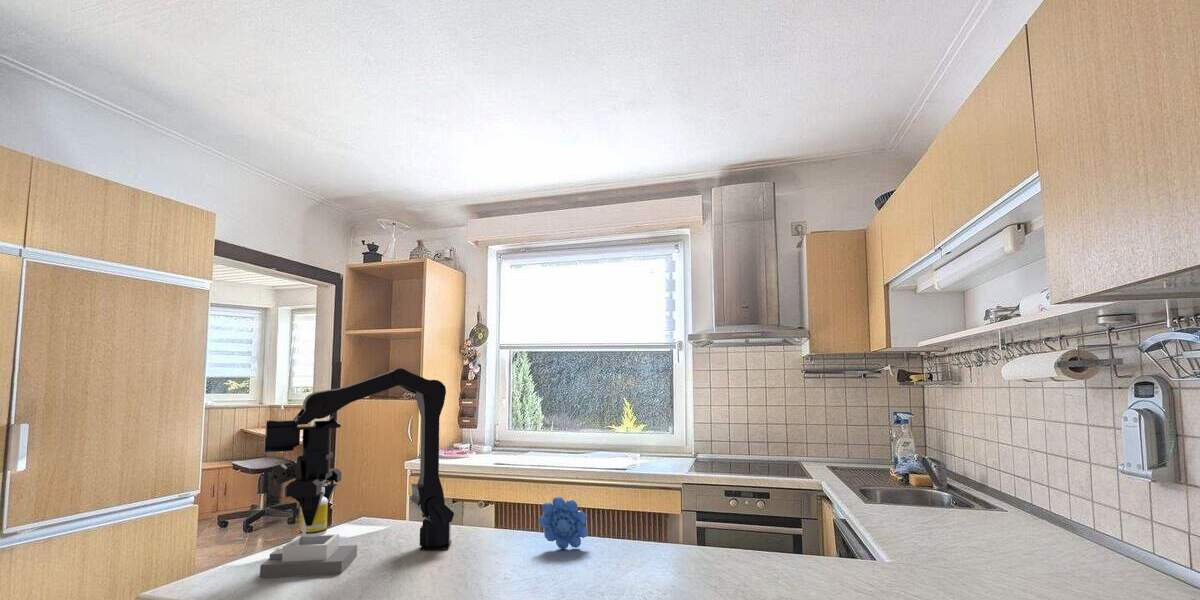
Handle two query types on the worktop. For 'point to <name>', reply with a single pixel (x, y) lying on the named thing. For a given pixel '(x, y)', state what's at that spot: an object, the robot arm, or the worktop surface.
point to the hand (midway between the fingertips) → (313, 522)
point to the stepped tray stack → (309, 557)
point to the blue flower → (563, 523)
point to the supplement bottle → (315, 520)
